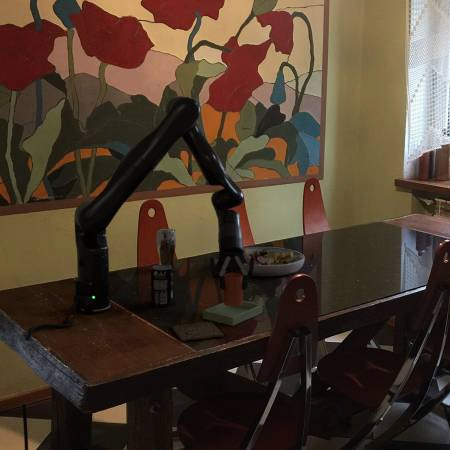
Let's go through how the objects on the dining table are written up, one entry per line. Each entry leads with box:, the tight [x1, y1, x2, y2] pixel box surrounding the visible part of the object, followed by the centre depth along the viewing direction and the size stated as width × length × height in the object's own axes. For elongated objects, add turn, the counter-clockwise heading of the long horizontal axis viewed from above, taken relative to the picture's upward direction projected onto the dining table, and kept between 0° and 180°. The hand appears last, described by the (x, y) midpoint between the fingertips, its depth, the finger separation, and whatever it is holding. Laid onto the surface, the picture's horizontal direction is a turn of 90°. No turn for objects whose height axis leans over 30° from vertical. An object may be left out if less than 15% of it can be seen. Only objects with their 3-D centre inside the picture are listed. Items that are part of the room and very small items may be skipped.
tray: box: [202, 300, 263, 327], centre depth 218 cm, size 15×11×2 cm
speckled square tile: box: [171, 320, 225, 342], centre depth 203 cm, size 12×12×1 cm
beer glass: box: [156, 228, 177, 272], centre depth 267 cm, size 7×7×15 cm
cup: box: [223, 272, 244, 307], centre depth 217 cm, size 6×6×9 cm
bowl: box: [234, 246, 306, 278], centre depth 273 cm, size 30×30×8 cm
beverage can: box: [150, 264, 174, 307], centre depth 226 cm, size 7×7×12 cm
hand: (234, 288), depth 215 cm, fingers closed on cup, 5 cm apart
